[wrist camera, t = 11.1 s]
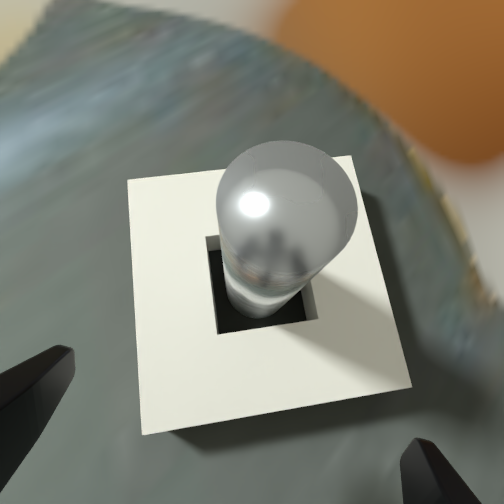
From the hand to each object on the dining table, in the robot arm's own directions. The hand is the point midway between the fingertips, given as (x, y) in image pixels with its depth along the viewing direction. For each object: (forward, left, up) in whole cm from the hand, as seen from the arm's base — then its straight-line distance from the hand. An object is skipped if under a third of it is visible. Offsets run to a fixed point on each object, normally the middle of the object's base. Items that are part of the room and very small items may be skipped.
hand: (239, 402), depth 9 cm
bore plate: (+5, -2, -12) cm, 13 cm away
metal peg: (+5, -2, -12) cm, 13 cm away
